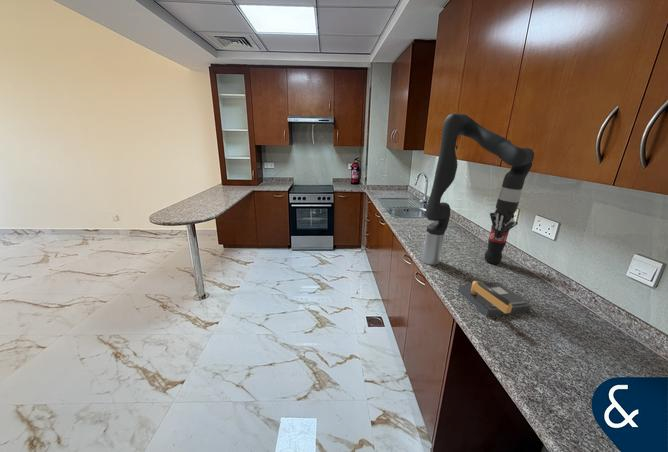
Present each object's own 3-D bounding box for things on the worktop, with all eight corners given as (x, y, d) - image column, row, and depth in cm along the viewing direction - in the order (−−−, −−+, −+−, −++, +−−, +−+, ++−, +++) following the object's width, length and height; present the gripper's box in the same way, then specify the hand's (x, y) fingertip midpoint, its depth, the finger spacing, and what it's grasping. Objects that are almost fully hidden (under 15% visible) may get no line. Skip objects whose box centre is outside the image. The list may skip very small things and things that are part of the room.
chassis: (457, 291, 123) (459, 284, 121) (496, 287, 126) (497, 281, 125) (486, 316, 106) (488, 309, 105) (529, 311, 110) (531, 304, 109)
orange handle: (474, 291, 117) (477, 277, 115) (509, 317, 101) (513, 302, 99) (468, 291, 116) (472, 277, 114) (503, 318, 100) (508, 303, 98)
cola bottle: (491, 265, 147) (505, 212, 137) (479, 258, 155) (492, 208, 145) (504, 264, 149) (518, 212, 139) (492, 257, 157) (504, 207, 147)
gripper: (488, 194, 115) (479, 232, 122) (513, 203, 103) (501, 244, 110) (504, 194, 117) (493, 231, 123) (530, 203, 105) (517, 243, 111)
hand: (497, 237), depth 116 cm, fingers closed
